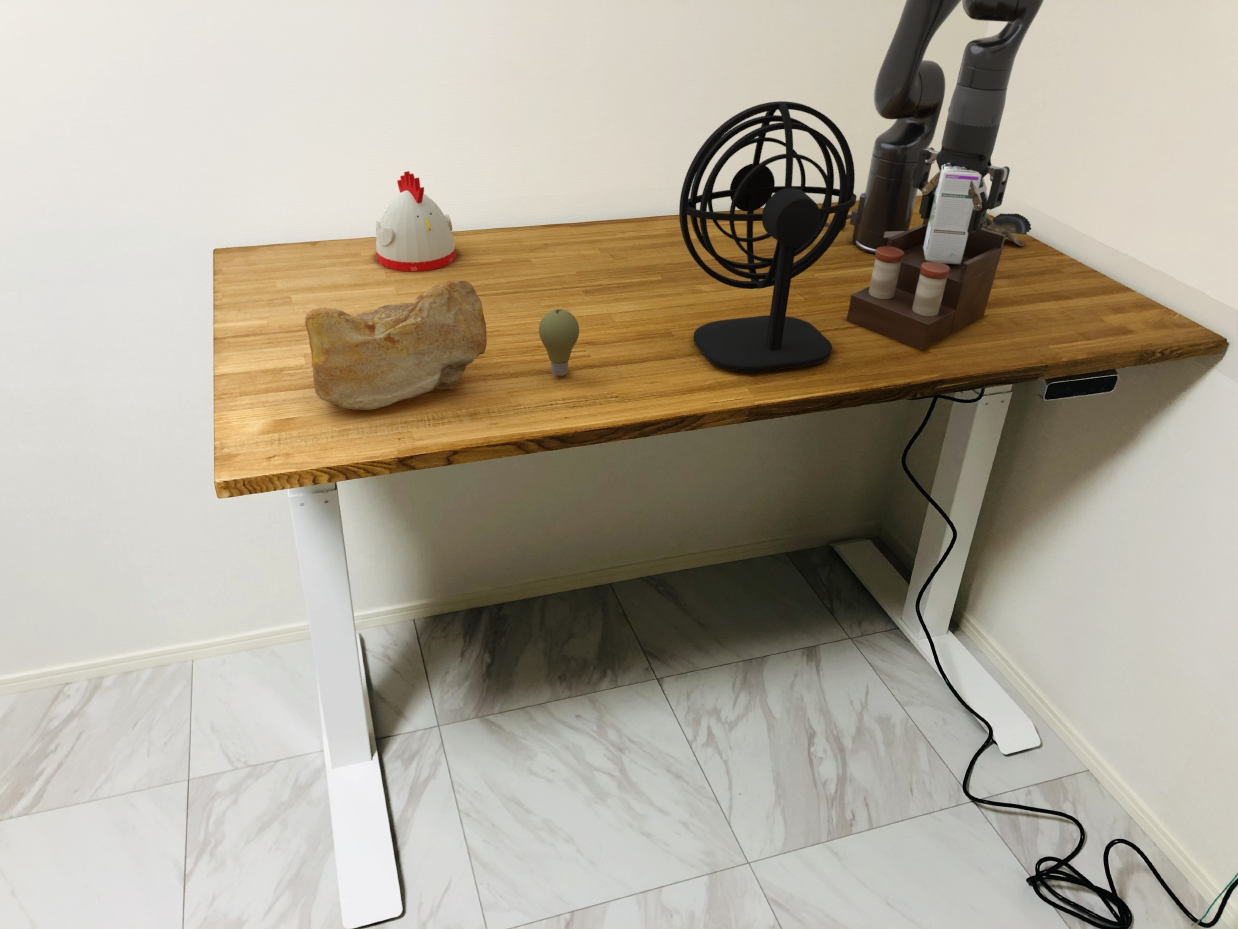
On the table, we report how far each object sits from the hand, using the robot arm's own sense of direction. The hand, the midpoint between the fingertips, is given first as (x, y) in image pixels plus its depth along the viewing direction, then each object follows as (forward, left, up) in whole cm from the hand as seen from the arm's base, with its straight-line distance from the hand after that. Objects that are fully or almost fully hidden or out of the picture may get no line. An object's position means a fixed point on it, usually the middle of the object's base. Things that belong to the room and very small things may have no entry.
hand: (948, 224), depth 146 cm
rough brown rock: (-36, -79, -15) cm, 88 cm away
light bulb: (-23, -61, -15) cm, 67 cm away
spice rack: (0, -4, -15) cm, 15 cm away
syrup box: (0, 0, -5) cm, 5 cm away
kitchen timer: (-73, -52, -15) cm, 91 cm away
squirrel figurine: (-8, +39, -15) cm, 43 cm away
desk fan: (-10, -31, -15) cm, 36 cm away
